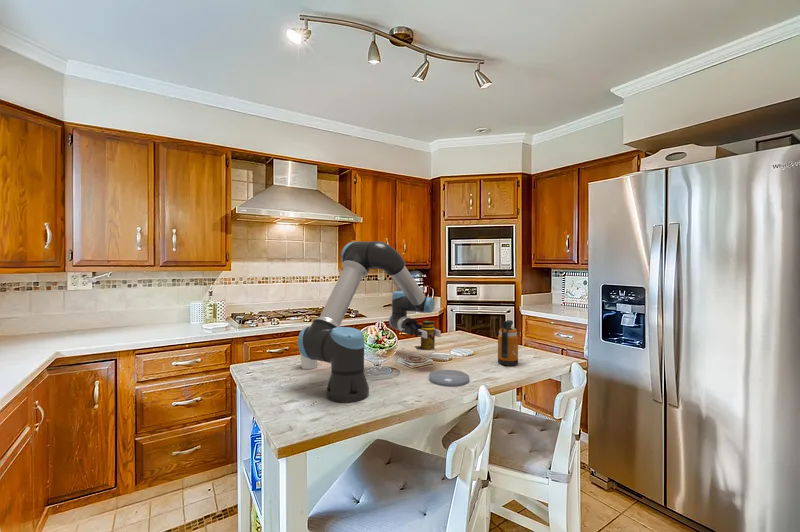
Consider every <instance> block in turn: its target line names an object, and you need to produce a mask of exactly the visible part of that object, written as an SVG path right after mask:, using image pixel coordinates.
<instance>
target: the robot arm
mask: <svg viewBox="0 0 800 532" xmlns="http://www.w3.org/2000/svg"><path fill="white" fill-rule="evenodd" d="M340 256H341V257H340V260H341V267H342V271H341V273H340V275H339V277H338V278H337V281H336V283H335V285H334V287H333V289H332V291H331V293H330V296H329V298H328V299H327V301H326V304H325V305H324V307H323V309H322V311H321V313H320V316H318V317H317V318H314V319H313V321H312V322H311V324H310V326H307V327H304V328H302V329H301V330H300V332H299V334H298V337H297V346H298V347H297V348H298V351H299V354H300V353H301V354H302V355H303V356H304V357H306V358H309V359H311V360H317V361H319V362H324V363H330V368H331V369H330V371H331V372H330V377H329V380H328V384H327V386H326V389H325V390H326V391H325V397H326V398H327V399H328V400H329V401H332V402H337V403H354V402H359V401H362V400H364V399H366V398H367V397H369V394H370V386H369V383H368V380H367V378H366V375H365V345H366V344H365V338H364V337H365V336H364V333H363V332H362V331H361V330H360V329H358V328H355V327H351V326H346V327H345V326H341V324H342V322H343V320H344V318H345V315H346V313H347V311H348V308H349V307H350V304H351V302H352V300H353V299H354V296H355V293H356V292H357V289H358V287H359V285H360V283H361V280H362V279H363V278H366V277H367V275H368V274H369V272H370V270H374V269H375V270H382V271H383V272H384V273H385V274H386V275H388V276H390V277H391V278H392V279H393V281H394V282H395V283H396V285H397V286H398V287H399V289H400V290H401V291H400V290H397V291H393V292H392V295H391V296H392V297H391V298H392V299H391V315H390V316H389V319H388V324H389V326H390V327H391V328H393V329H394V330H395V331H400V332H402V333H404V334H407V335H410V336H414V337H415V338H418V337H420V338H421V337H423V338H427V332H426V331H423V330H421V327H422V323H421V324H420V323H418V320H417V319H414V318H411V317H408V315H407V314H408V312H415V313H423V314H431V313H432V312H433V311H434V308H435V300H434V299H433V297H431V296H430V297H429V296H426V295H425V294H424V292H423V291H422V289H421V287H420V286H419V285H418V283H417V282H416V280H415V278H414V277H413V276H412V274H411V273H410V271H409V269H408V268H407V267H406V262H405V260H404V258H403V257H402V255H401V253H399V252H398V250H396V249H395V248H394V247H393V246H391V245H389V244H388V243H386V242H383V241H379V240H378V241H377V240H375V241H351V242H347V244H346V245H344V246H343V248H342V250H341V254H340ZM434 328H435V337H438V338H441V336H442V335H441V332H442V331H441V330H439V329H438V327H436V326H434Z"/></svg>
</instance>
